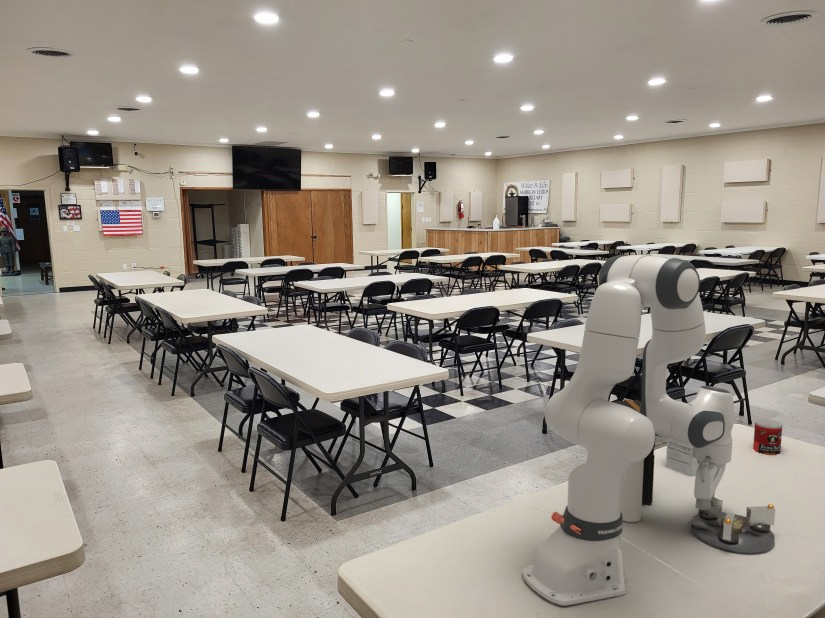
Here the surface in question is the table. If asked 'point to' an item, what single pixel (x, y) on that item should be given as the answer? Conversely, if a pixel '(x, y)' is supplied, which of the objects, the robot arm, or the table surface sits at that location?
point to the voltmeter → (648, 461)
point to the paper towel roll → (632, 493)
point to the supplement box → (680, 458)
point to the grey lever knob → (760, 518)
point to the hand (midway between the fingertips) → (708, 504)
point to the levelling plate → (745, 537)
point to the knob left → (709, 509)
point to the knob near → (728, 530)
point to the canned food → (767, 436)
